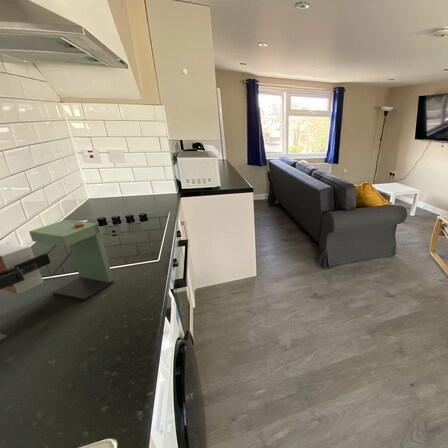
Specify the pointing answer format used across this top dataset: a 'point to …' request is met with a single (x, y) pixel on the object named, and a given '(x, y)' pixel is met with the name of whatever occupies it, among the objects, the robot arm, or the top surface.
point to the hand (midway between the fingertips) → (34, 256)
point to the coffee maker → (79, 256)
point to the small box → (13, 255)
